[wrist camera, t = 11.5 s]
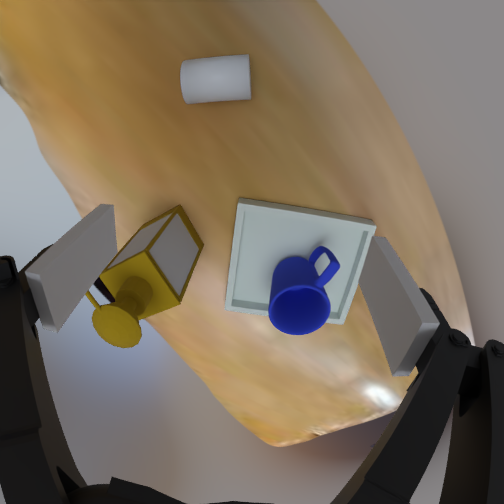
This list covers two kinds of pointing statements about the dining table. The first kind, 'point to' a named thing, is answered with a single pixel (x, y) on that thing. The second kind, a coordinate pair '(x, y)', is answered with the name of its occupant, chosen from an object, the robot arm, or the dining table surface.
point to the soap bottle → (147, 276)
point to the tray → (293, 252)
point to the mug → (301, 293)
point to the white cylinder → (216, 79)
